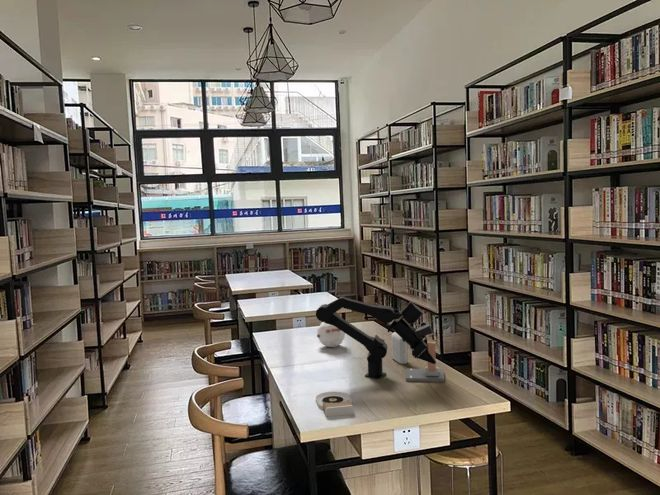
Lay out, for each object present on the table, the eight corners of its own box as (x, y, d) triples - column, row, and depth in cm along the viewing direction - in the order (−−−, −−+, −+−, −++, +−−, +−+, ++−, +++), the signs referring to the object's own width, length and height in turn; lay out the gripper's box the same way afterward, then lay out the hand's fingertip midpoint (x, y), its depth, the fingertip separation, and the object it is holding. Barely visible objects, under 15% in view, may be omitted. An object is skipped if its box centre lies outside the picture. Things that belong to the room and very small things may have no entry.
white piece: (341, 347, 270) (335, 320, 273) (352, 342, 247) (346, 313, 250) (314, 352, 267) (308, 325, 270) (323, 348, 243) (316, 318, 246)
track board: (405, 381, 204) (405, 377, 203) (406, 371, 215) (406, 368, 215) (444, 381, 201) (444, 378, 201) (442, 372, 213) (442, 369, 213)
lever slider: (425, 375, 205) (424, 344, 204) (425, 370, 212) (424, 340, 211) (438, 375, 204) (438, 345, 203) (437, 370, 211) (437, 340, 210)
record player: (322, 408, 171) (313, 389, 191) (322, 418, 171) (313, 397, 191) (357, 405, 173) (345, 386, 193) (357, 414, 173) (345, 394, 193)
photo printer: (409, 363, 226) (408, 334, 226) (400, 364, 225) (399, 335, 224) (399, 357, 236) (398, 329, 235) (390, 358, 235) (389, 330, 234)
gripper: (420, 322, 198) (451, 351, 197) (419, 312, 216) (448, 339, 215) (399, 343, 199) (429, 372, 198) (400, 331, 218) (428, 358, 217)
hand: (434, 359), depth 207 cm, fingers open, 9 cm apart
